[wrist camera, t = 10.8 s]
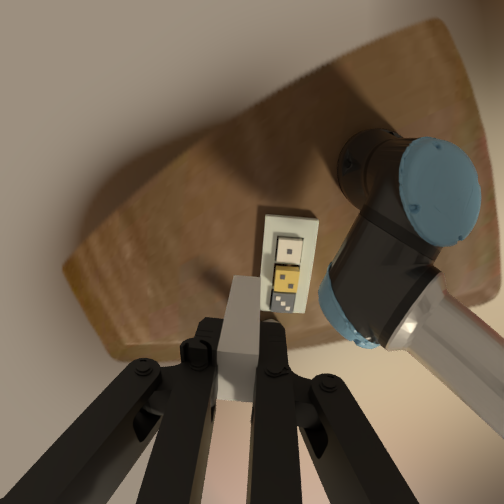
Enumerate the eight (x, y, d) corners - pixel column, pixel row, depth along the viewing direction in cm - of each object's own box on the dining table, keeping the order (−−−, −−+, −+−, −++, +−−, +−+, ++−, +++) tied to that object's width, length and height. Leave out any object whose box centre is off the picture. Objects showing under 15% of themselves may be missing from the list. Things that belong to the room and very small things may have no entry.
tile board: (265, 213, 50) (265, 216, 48) (317, 218, 50) (319, 220, 48) (257, 306, 56) (257, 310, 55) (303, 309, 56) (304, 313, 54)
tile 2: (275, 265, 51) (276, 270, 49) (298, 267, 51) (299, 272, 49) (273, 285, 52) (274, 291, 50) (295, 287, 52) (296, 293, 50)
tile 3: (272, 287, 54) (273, 293, 52) (294, 289, 54) (295, 294, 52) (270, 306, 55) (270, 312, 53) (291, 307, 55) (292, 313, 53)
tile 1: (278, 235, 50) (279, 239, 48) (301, 237, 50) (302, 241, 48) (276, 257, 52) (276, 262, 50) (298, 259, 52) (299, 263, 50)
